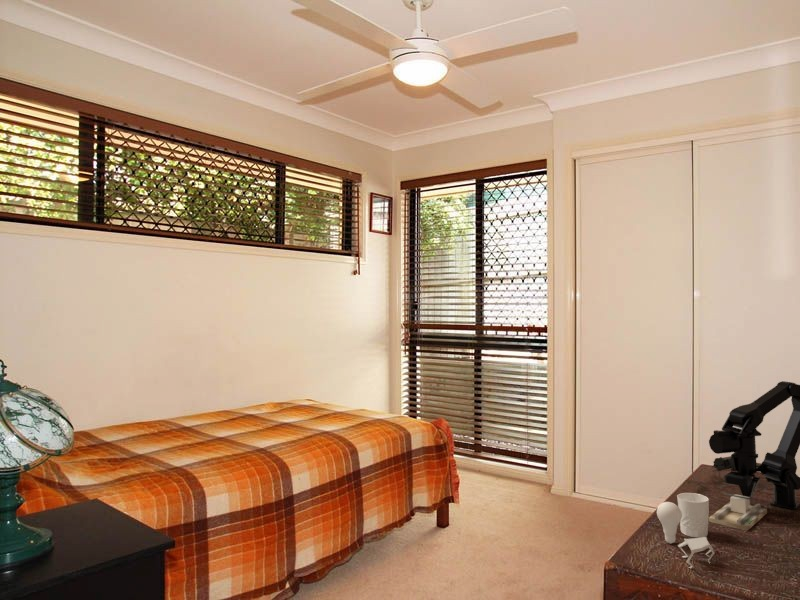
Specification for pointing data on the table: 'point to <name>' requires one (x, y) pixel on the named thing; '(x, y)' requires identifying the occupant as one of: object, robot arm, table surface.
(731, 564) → the table surface
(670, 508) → the lightbulb
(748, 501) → the tuning slider
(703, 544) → the origami figure
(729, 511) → the board
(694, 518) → the white cup
